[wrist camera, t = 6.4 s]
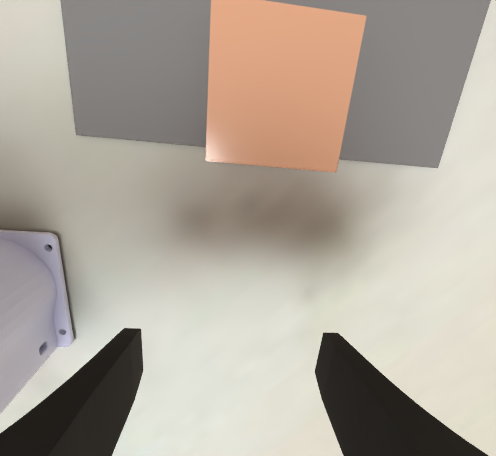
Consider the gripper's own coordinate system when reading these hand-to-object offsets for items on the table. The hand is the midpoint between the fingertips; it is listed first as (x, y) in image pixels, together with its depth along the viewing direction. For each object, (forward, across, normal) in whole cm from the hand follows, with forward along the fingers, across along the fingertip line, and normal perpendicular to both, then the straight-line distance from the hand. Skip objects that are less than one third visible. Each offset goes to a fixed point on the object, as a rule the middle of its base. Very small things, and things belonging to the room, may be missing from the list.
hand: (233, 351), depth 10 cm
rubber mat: (+9, -2, -14) cm, 17 cm away
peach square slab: (+8, -2, -7) cm, 11 cm away
